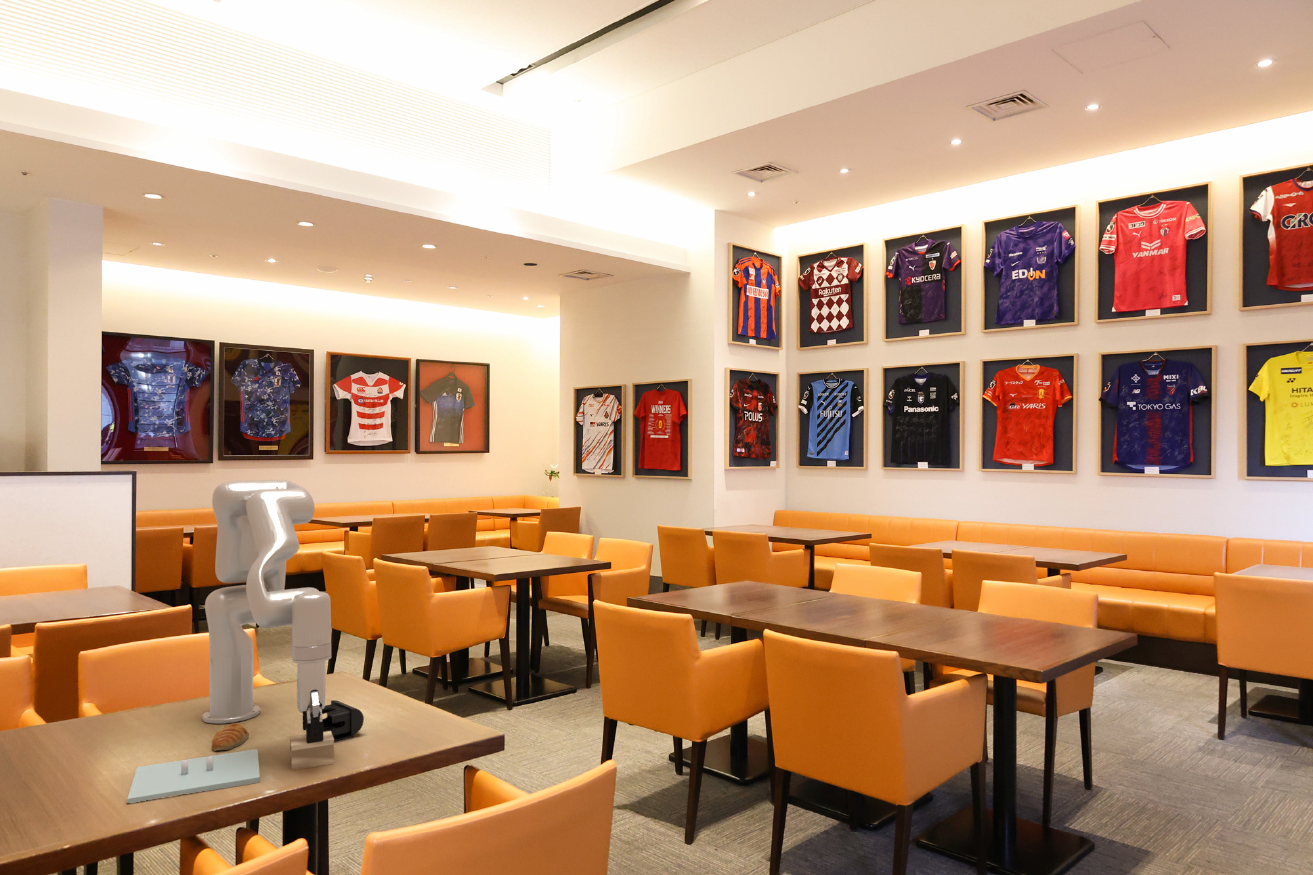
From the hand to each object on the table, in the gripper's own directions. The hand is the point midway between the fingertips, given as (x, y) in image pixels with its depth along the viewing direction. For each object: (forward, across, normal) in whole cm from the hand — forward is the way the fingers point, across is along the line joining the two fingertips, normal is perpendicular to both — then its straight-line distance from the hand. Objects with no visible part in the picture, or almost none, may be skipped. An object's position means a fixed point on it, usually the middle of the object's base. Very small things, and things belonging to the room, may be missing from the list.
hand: (312, 735), depth 175 cm
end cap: (+6, -17, +7) cm, 19 cm away
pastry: (+6, -22, -16) cm, 27 cm away
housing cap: (+6, -1, 0) cm, 6 cm away
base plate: (+5, -3, -21) cm, 22 cm away
